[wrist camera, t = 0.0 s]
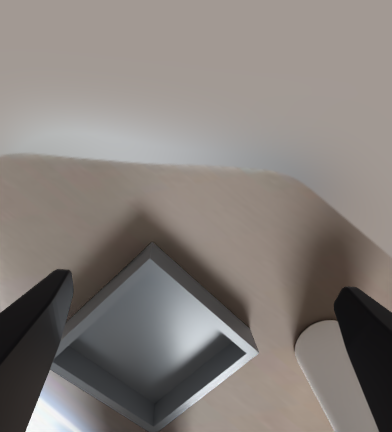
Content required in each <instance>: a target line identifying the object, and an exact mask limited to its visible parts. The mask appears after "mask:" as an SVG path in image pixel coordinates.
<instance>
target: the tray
mask: <svg viewBox="0 0 392 432" xmlns="http://www.w3.org/2000/svg"><path fill="white" fill-rule="evenodd" d="M258 353H259V351H258V349H257V346H256V344H255V341H254V338H253V336H252V333H251V330H250V328H248V327H247V326H246V325H245V324H244V323H243V322H242V321H241V320H239V319H238V318H237V317H236V316H235V315H234V314H233V313H232V312H231V311H229V310H228V309H227V308H226V307H225V306H224V305H223V304H222V303H220V302H219V301H218V300H217V299H216V298H215V297H214V296H213V295H211V294H210V293H209V292H208V291H207V290H206V289H205V288H204V287H202V286H201V285H200V284H199V283H198V282H197V281H196V280H195V279H194V278H192V277H191V276H190V275H189V274H188V273H187V272H186V271H185V270H183V269H182V268H181V267H180V266H179V265H178V264H177V263H176V262H174V261H173V260H172V259H171V258H170V257H169V256H168V255H167V254H165V253H164V252H163V251H162V250H161V249H160V248H159V247H158V246H157V245H155V244H154V243H153V242H152V243H151V244H149V245H148V246H147V247H146V248H145V249H144V250H143V251H142V252H141V253H140V254H139V255H138V256H137V257H136V258H134V259H133V260H132V261H131V262H130V263H129V264H128V265H127V266H126V267H125V268H124V269H123V270H122V271H121V272H119V273H118V274H117V275H116V276H115V277H114V278H113V279H112V280H111V281H110V282H109V283H108V284H107V285H106V286H104V287H103V288H102V289H101V290H100V291H99V292H98V293H97V294H96V295H95V296H94V297H93V298H92V299H91V300H89V301H88V302H87V303H86V304H85V305H84V306H83V307H82V308H81V309H80V310H79V311H78V312H77V313H76V314H74V315H73V316H72V317H71V318H70V319H69V320H68V321H67V322H66V323H65V327H64V331H63V334H62V338H61V341H60V344H59V347H58V350H57V352H56V355H55V358H54V360H53V363H52V365H51V368H50V370H52V371H53V372H55V373H56V374H58V375H60V376H61V377H63V378H64V379H66V380H67V381H69V382H71V383H72V384H74V385H75V386H77V387H79V388H80V389H82V390H83V391H85V392H86V393H88V394H90V395H91V396H93V397H94V398H96V399H97V400H99V401H101V402H102V403H104V404H105V405H107V406H109V407H110V408H112V409H113V410H115V411H116V412H118V413H120V414H121V415H123V416H124V417H126V418H128V419H129V420H131V421H132V422H134V423H135V424H137V425H139V426H140V427H142V428H143V429H145V430H146V431H148V432H158V431H160V430H161V429H162V428H164V427H165V426H166V425H167V424H169V423H170V422H171V421H173V420H174V419H175V418H176V417H178V416H179V415H180V414H181V413H183V412H184V411H185V410H187V409H188V408H189V407H190V406H192V405H193V404H194V403H196V402H197V401H198V400H199V399H201V398H202V397H203V396H205V395H206V394H207V393H208V392H210V391H211V390H212V389H214V388H215V387H216V386H217V385H219V384H220V383H221V382H223V381H224V380H225V379H226V378H228V377H229V376H230V375H231V374H233V373H234V372H235V371H237V370H238V369H239V368H240V367H242V366H243V365H244V364H246V363H247V362H248V361H249V360H251V359H252V358H253V357H255V356H256V355H257V354H258Z"/></svg>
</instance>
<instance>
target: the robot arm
mask: <svg viewBox="0 0 392 432" xmlns="http://www.w3.org/2000/svg"><path fill="white" fill-rule="evenodd" d="M73 290H74V289H73V281H72V273H71V271H70V270H64V269H57V270H55V271H53V272H52V273H51V274H49V275H48V276H47V277H46V278H44V279H43V280H42V281H40V282H39V283H38V284H37V285H35V286H34V287H33V288H32V289H30V290H29V291H28V292H26V293H25V294H24V295H23V296H21V297H20V298H19V299H18V300H16V301H15V302H14V303H12V304H11V305H10V306H9V307H7V308H6V309H5V310H4V311H2V312H1V313H0V432H25V431H26V428H27V426H28V423H29V421H30V418H31V416H32V413H33V411H34V408H35V406H36V403H37V401H38V398H39V396H40V393H41V390H42V388H43V385H44V383H45V380H46V378H47V375H48V373H49V370H50V368H51V365H52V363H53V360H54V358H55V355H56V352H57V350H58V347H59V344H60V341H61V338H62V334H63V331H64V327H65V323H66V319H67V316H68V312H69V308H70V305H71V301H72V297H73ZM334 311H335V314H336V318H337V321H338V324H339V328H340V331H341V334H342V338H343V341H344V345H345V348H346V351H347V354H348V356H349V359H350V361H351V364H352V366H353V369H354V371H355V374H356V376H357V379H358V381H359V384H360V386H361V389H362V391H363V393H364V396H365V398H366V401H367V403H368V406H369V408H370V411H371V413H372V416H373V418H374V421H375V423H376V426H377V428H378V430H379V432H392V313H391V312H390V311H389V310H387V309H386V308H385V307H383V306H382V305H380V304H379V303H378V302H376V301H375V300H374V299H372V298H371V297H369V296H368V295H367V294H365V293H364V292H363V291H361V290H360V289H358V288H356V287H344V288H342V290H341V291H340V293H339V295H338V297H337V298H336V300H335V302H334Z"/></svg>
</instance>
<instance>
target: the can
mask: <svg viewBox="0 0 392 432" xmlns="http://www.w3.org/2000/svg"><path fill="white" fill-rule="evenodd" d="M295 355H296V358H297V361H298V363H299V365H300V367H301V369H302V371H303V372H304V374H305V376H306V378H307V380H308V382H309V384H310V386H311V388H312V390H313V392H314V394H315V395H316V397H317V399H318V401H319V403H320V405H321V407H322V409H323V411H324V413H325V414H326V416H327V418H328V420H329V422H330V424H331V426H332V428H333V430H334V431H335V432H379V430H378V428H377V426H376V423H375V421H374V418H373V416H372V413H371V411H370V408H369V406H368V403H367V401H366V398H365V396H364V393H363V391H362V389H361V386H360V384H359V381H358V379H357V376H356V374H355V371H354V369H353V366H352V364H351V361H350V359H349V356H348V354H347V351H346V348H345V345H344V341H343V338H342V334H341V331H340V328H339V324H338V321H335V320H323V321H319V322H316V323H314V324H312V325H310V326H309V327H307V328H306V329H305V330H304V331H303V332H302V333H301V334H300V336H299V338H298V340H297V342H296V345H295Z"/></svg>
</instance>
